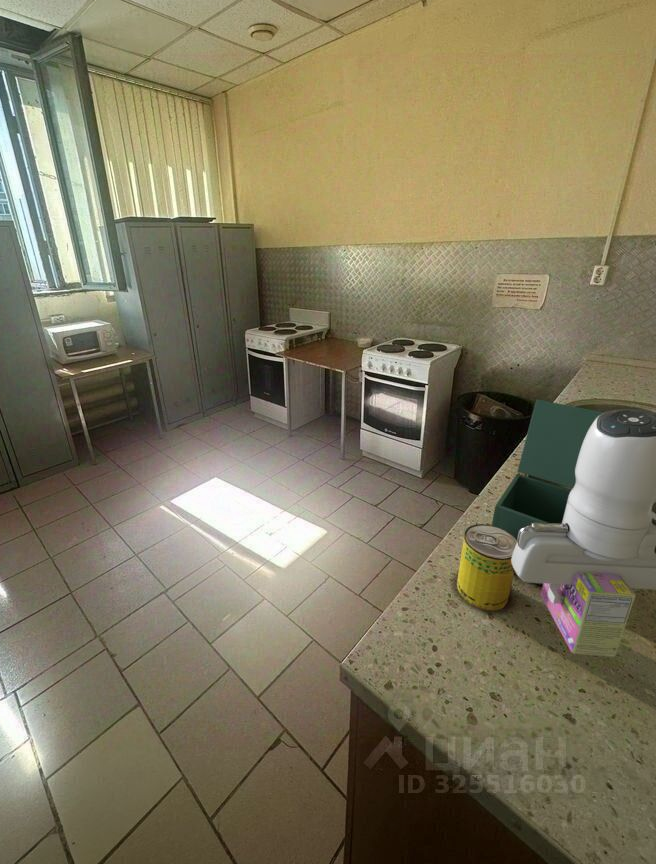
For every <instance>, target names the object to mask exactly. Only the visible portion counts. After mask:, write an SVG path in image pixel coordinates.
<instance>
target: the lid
mask: <svg viewBox="0 0 656 864" xmlns="http://www.w3.org/2000/svg"><path fill="white" fill-rule="evenodd" d="M603 413H605V412H603V411H600V410H599V411H598V410H594V409H588V408H583V407H577V406H573V405H568V404H562V403H557V402H553V401H546V400H541V399H536V400H535V404H534V407H533V411H532V415H531V418H530V421H529V422H530V423H529V425H528V430H527V433H526V437H525V440H524V445H523V448H522V451H521V455H520V460H519V463H518V467H517V471H516V472H517V473H519V474H523V475H526V476H529V477H533V478H536V479H539V480H542V481H546V482H549V483H552V484H557V485H559V486H560V485H561V486H562V487H563V486H564V487H566V488H569V489H573V488H574V486H575V483H576V477H575V468H576V464H577V460H578V456H579V453H580V449H581V446H582V444H583V441H584V439H585V436H586V434H587V432H588V430H589V428H590V427H591V425H592V423H593V422H594V421H595V419H596V418H597V417H598V416H599V415H601V414H603Z"/></svg>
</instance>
